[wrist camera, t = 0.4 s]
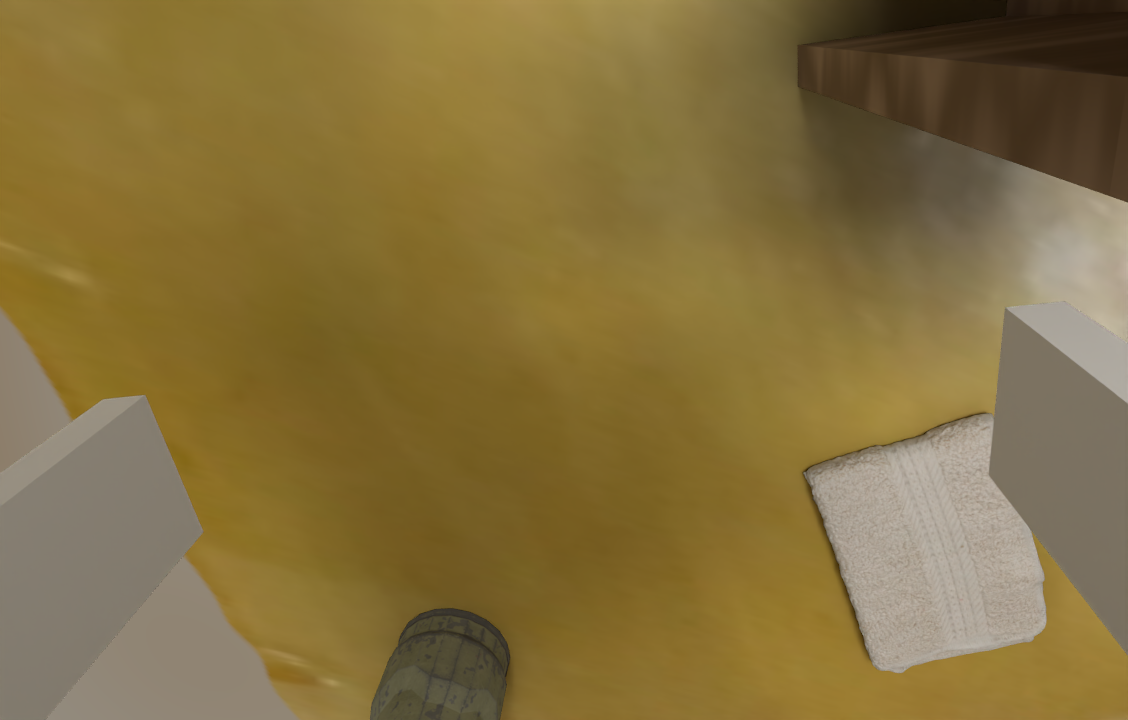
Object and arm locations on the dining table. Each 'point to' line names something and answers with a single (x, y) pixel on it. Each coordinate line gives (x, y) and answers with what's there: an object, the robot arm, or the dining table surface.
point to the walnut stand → (1000, 85)
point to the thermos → (444, 670)
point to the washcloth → (930, 547)
